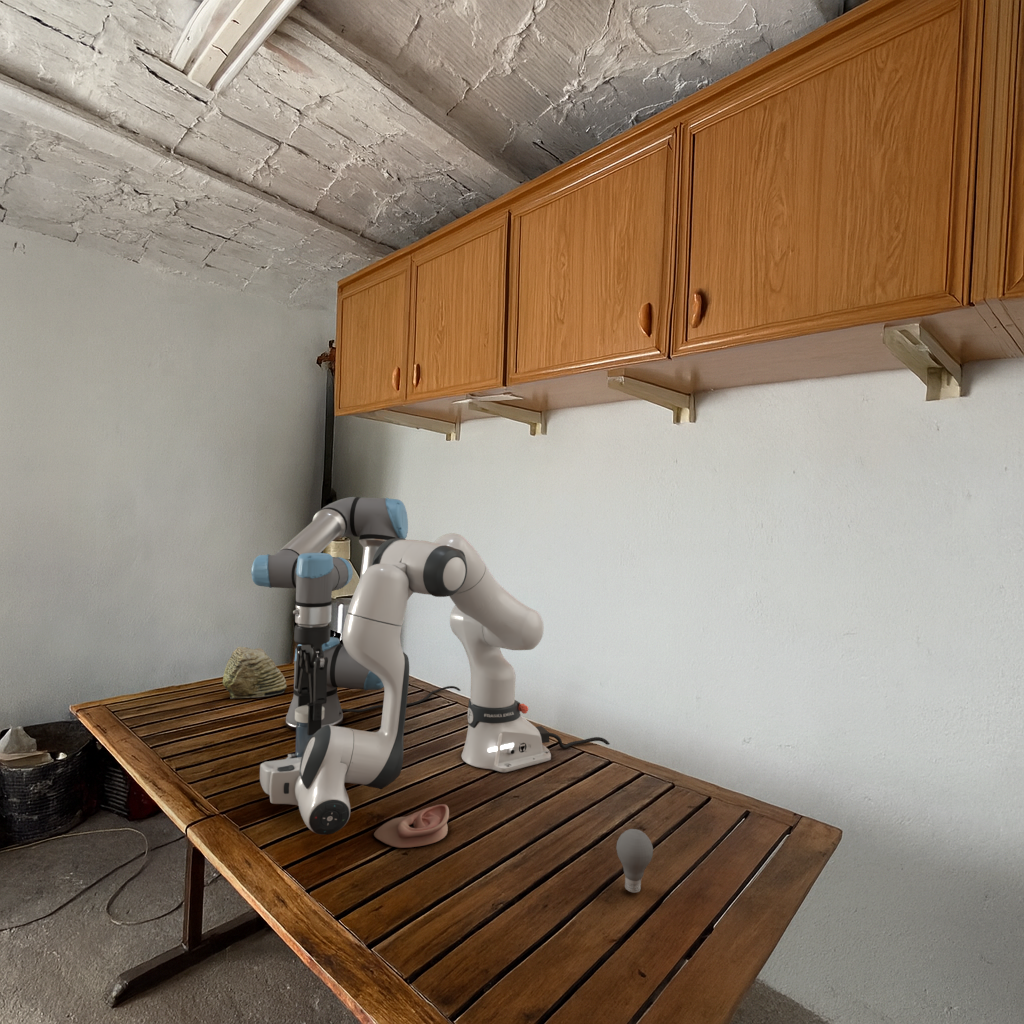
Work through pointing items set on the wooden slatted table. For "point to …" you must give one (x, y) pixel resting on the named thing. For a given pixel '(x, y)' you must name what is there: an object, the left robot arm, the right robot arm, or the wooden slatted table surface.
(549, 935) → the wooden slatted table surface
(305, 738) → the jar
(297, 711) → the lid
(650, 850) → the light bulb
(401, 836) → the anatomical model
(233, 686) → the fossil
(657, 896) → the wooden slatted table surface
